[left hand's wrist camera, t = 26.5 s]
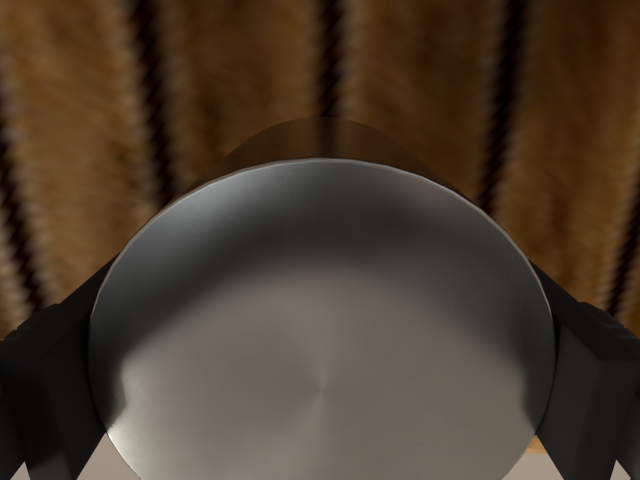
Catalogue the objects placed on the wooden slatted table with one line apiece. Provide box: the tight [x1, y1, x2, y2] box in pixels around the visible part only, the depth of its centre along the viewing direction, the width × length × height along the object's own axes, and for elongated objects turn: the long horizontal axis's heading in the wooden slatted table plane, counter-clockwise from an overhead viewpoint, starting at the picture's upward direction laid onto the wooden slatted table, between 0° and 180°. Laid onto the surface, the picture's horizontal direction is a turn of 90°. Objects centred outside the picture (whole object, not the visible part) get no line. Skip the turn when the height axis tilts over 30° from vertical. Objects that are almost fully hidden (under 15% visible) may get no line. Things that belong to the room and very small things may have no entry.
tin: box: [87, 117, 557, 480], centre depth 12 cm, size 9×9×8 cm
